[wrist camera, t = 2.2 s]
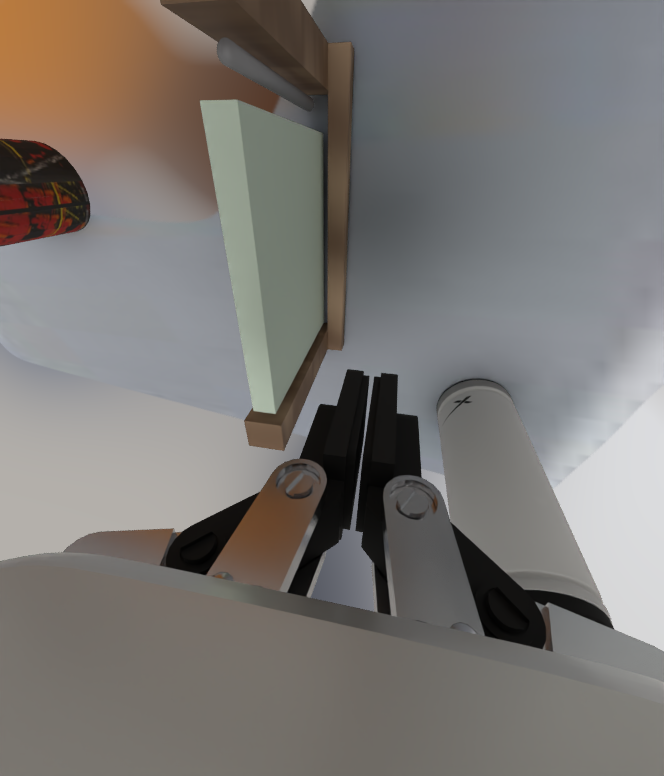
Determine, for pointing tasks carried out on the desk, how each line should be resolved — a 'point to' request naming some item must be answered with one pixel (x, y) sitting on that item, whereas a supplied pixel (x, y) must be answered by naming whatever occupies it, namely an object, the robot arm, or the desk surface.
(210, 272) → the desk surface
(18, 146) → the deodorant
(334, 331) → the door frame
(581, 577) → the travel mug
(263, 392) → the door
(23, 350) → the desk surface
